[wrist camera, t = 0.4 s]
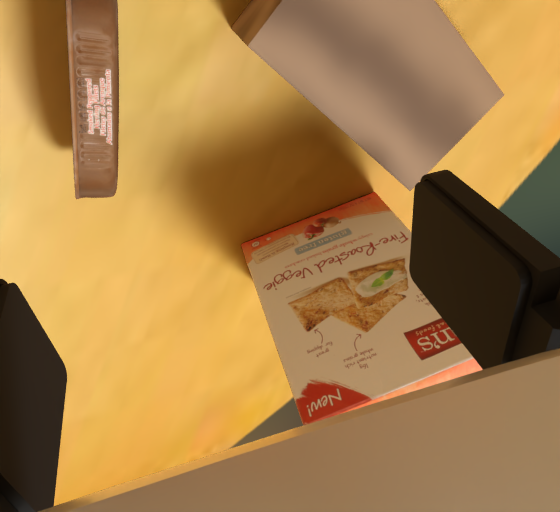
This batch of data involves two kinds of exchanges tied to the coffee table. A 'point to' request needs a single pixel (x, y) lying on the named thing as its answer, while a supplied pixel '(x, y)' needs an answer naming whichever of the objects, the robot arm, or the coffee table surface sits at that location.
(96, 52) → the tin
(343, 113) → the walnut block
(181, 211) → the coffee table surface
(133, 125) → the coffee table surface
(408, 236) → the cracker box
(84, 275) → the coffee table surface
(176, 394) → the coffee table surface
